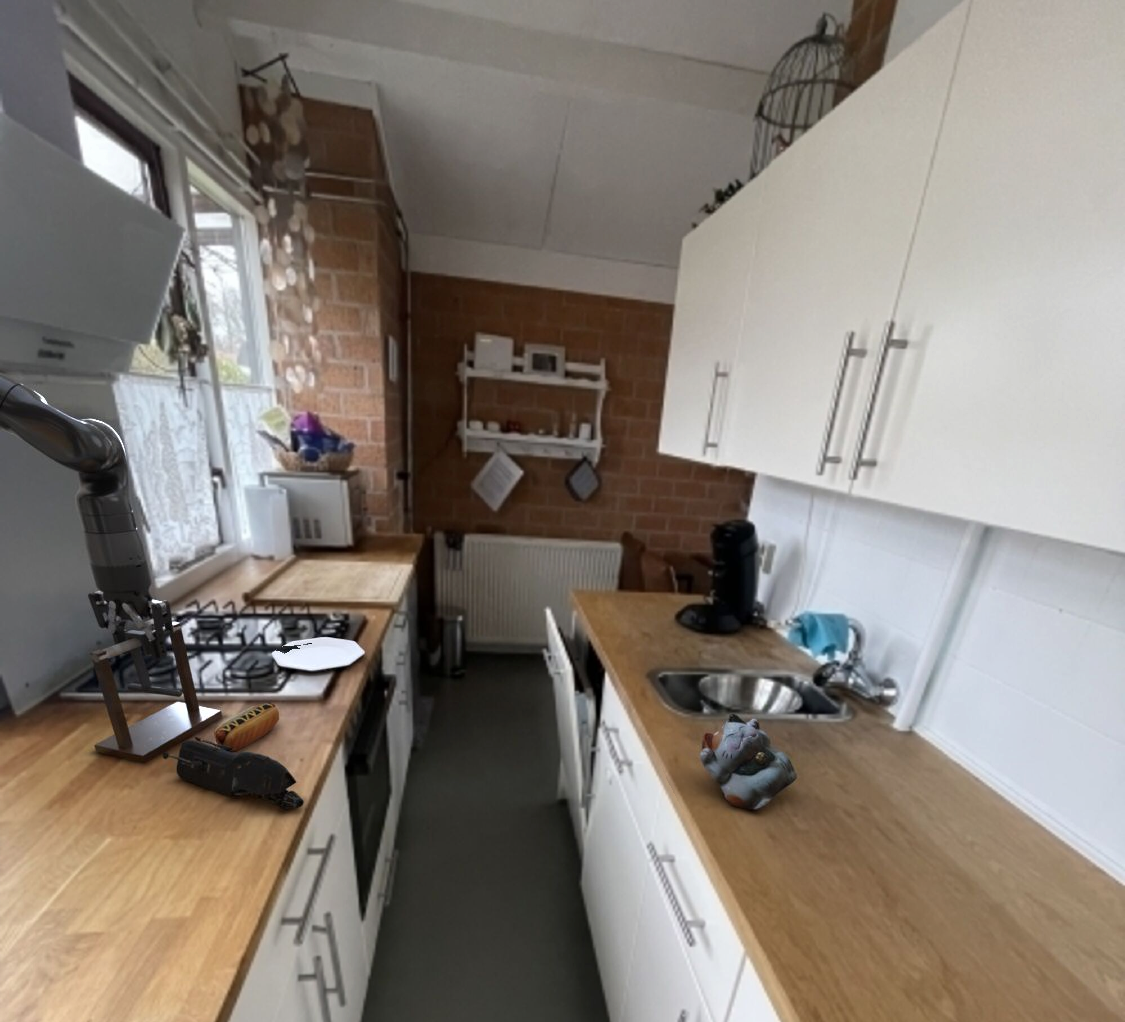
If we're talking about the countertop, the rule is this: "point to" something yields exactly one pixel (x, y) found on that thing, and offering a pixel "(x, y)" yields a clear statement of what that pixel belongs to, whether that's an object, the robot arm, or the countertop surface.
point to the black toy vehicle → (235, 772)
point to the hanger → (142, 669)
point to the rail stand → (160, 727)
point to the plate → (319, 654)
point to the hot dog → (247, 726)
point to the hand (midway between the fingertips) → (143, 655)
